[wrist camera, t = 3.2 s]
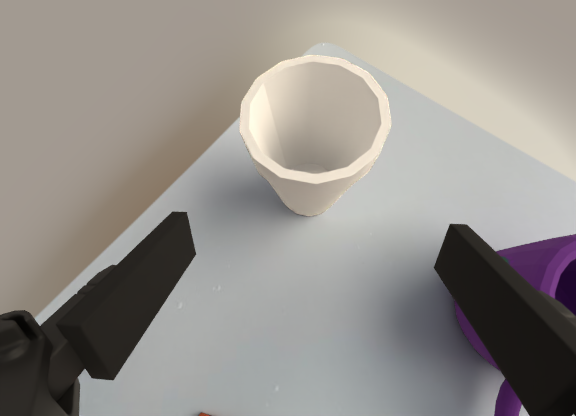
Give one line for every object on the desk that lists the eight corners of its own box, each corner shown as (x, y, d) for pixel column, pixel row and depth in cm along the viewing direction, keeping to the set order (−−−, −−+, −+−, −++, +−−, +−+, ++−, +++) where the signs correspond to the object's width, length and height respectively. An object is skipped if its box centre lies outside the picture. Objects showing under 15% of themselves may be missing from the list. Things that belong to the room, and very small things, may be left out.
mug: (458, 231, 25) (553, 201, 16) (580, 279, 23) (773, 277, 14) (409, 412, 21) (497, 521, 11) (553, 489, 19) (804, 696, 10)
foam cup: (330, 244, 26) (356, 209, 13) (253, 209, 27) (212, 148, 15) (362, 169, 28) (410, 79, 15) (289, 141, 30) (280, 39, 17)
